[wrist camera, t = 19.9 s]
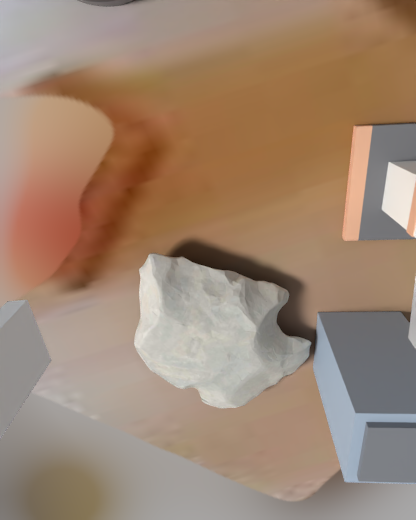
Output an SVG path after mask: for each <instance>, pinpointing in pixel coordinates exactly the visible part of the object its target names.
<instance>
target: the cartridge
mask: <svg viewBox="0 0 416 520" xmlns="http://www.w3.org/2000/svg"><path fill="white" fill-rule="evenodd" d="M382 210H383V211H384V212H385V213H386V214H388V215H389V216H390V217H391V218H392V219H394V220H395V221H396V222H397V223H398V224H400V225H401V226H402V227H403V228H405V229H406V230H407V231H406V232H407V233H408V234H409V235H410V236H411V237H415V238H416V161H397V162H389V163H388V170H387V176H386V183H385V190H384V197H383V203H382Z"/></svg>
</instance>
